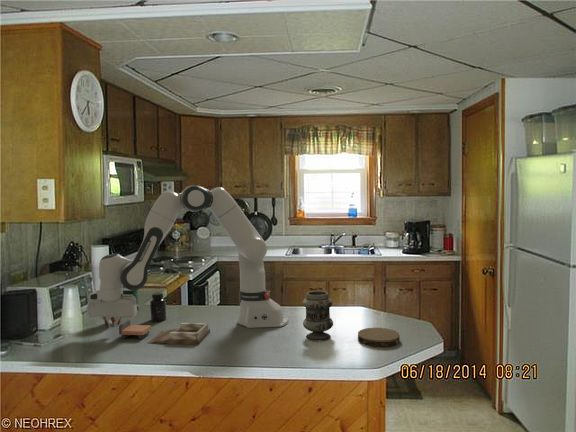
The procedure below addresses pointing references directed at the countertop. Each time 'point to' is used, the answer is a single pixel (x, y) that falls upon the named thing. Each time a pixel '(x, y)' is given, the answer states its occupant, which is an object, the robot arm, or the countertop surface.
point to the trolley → (133, 330)
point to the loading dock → (183, 334)
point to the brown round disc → (378, 337)
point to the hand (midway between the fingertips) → (113, 327)
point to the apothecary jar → (317, 315)
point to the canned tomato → (133, 292)
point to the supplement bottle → (158, 307)
